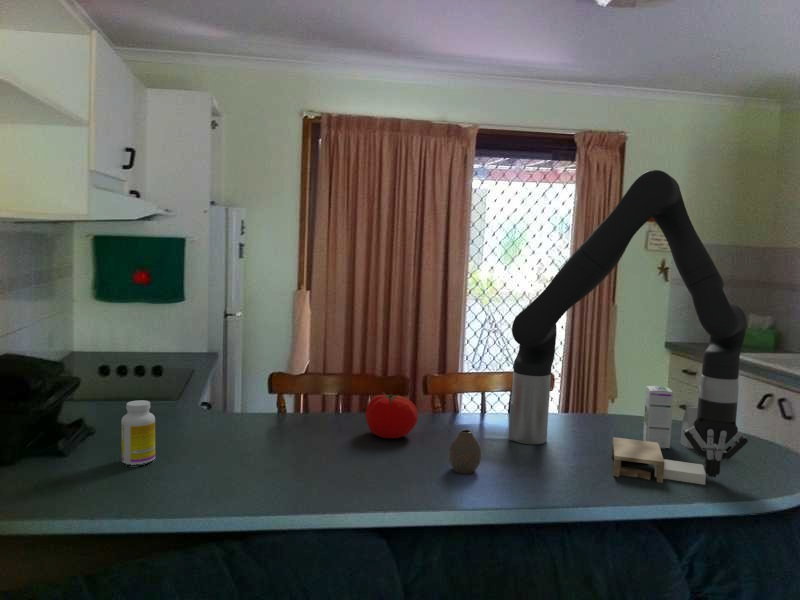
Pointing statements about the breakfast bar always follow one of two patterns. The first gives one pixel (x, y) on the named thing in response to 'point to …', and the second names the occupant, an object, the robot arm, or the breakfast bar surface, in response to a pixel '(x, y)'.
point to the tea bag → (687, 423)
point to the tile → (683, 471)
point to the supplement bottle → (138, 433)
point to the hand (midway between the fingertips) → (711, 475)
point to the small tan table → (637, 457)
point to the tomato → (391, 416)
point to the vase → (465, 453)
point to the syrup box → (658, 415)
